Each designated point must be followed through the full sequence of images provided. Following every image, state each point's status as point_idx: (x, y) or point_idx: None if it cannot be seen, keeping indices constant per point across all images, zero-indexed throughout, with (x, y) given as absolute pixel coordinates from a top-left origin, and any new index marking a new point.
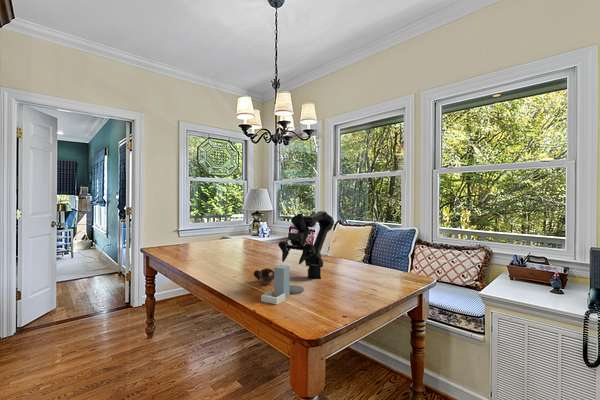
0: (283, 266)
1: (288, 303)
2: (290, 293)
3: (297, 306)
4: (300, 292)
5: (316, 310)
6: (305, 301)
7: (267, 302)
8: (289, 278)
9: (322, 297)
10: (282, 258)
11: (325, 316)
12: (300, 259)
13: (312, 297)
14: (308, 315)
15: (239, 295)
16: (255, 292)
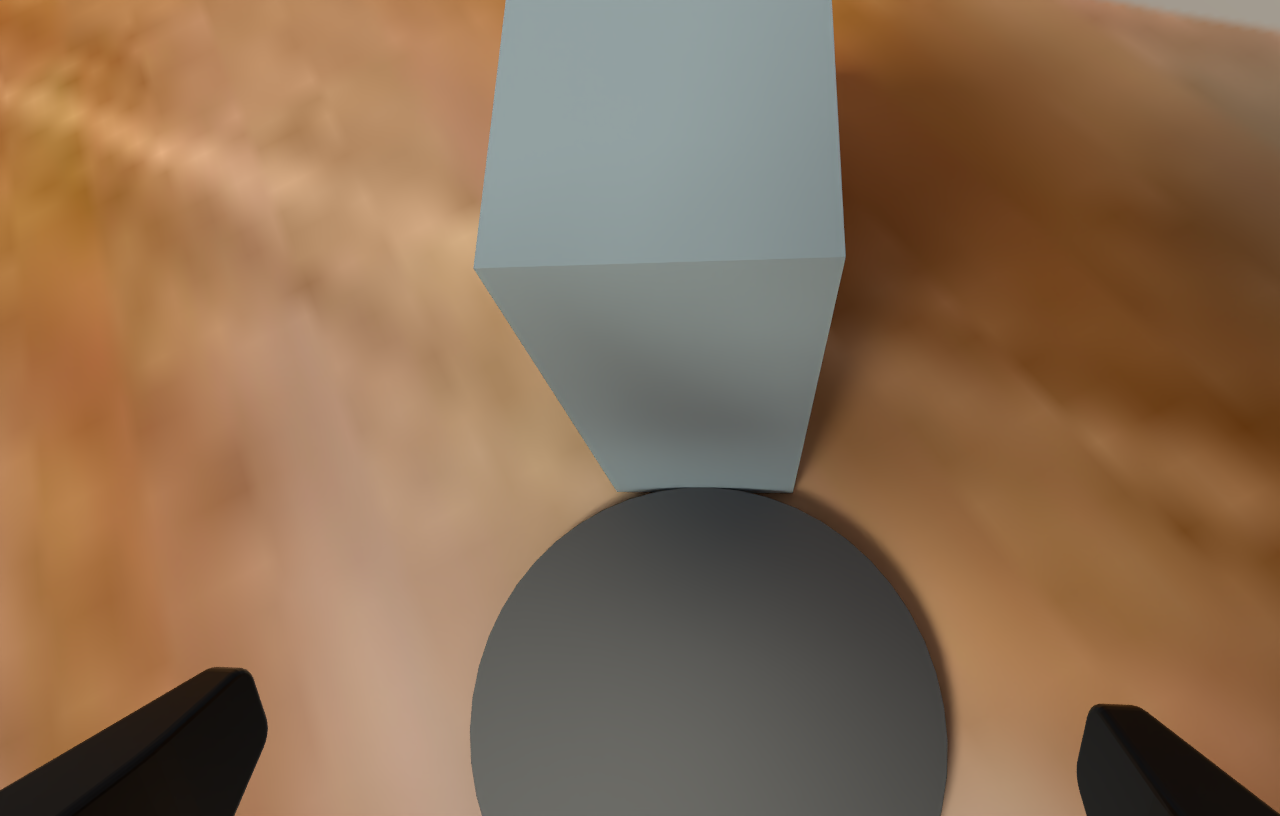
0: (636, 158)
1: None
2: (608, 510)
3: (351, 197)
4: (488, 645)
5: (130, 206)
6: (311, 372)
7: None
8: (560, 401)
9: (127, 623)
10: (1216, 783)
11: (28, 132)
12: (85, 773)
13: (263, 554)
14: (181, 77)
15: (1258, 128)
16: (1165, 332)
